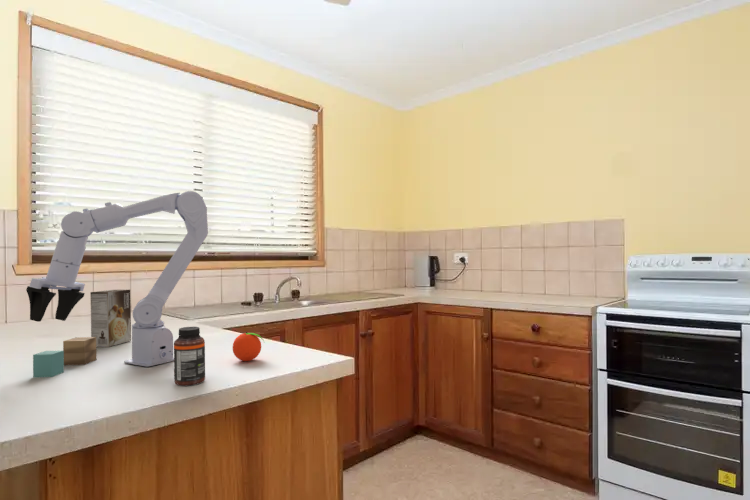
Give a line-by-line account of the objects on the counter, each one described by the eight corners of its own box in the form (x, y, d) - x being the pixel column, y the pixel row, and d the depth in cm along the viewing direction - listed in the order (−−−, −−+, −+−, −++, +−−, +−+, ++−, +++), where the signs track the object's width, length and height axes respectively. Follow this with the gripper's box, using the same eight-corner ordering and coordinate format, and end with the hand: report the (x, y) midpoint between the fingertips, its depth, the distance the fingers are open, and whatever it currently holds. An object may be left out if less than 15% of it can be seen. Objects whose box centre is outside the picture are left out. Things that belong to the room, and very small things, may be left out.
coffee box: (114, 340, 142) (113, 289, 142) (131, 341, 141) (131, 289, 141) (90, 346, 133) (89, 291, 133) (108, 347, 132) (108, 291, 132)
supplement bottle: (179, 379, 96) (179, 325, 96) (208, 378, 97) (208, 325, 97) (169, 387, 90) (169, 330, 91) (200, 386, 91) (200, 329, 91)
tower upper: (84, 353, 111) (84, 340, 111) (63, 353, 110) (63, 341, 110) (96, 348, 116) (96, 337, 116) (76, 349, 115) (76, 337, 115)
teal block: (51, 377, 99) (51, 354, 99) (33, 377, 99) (33, 354, 99) (63, 372, 103) (63, 350, 103) (45, 372, 103) (45, 350, 103)
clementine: (269, 357, 116) (269, 329, 116) (259, 364, 109) (259, 334, 109) (239, 357, 116) (238, 329, 117) (227, 364, 110) (227, 334, 110)
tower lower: (84, 365, 110) (84, 353, 110) (63, 365, 110) (63, 353, 110) (96, 360, 115) (96, 348, 115) (76, 361, 115) (76, 349, 115)
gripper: (72, 262, 113) (55, 315, 112) (25, 255, 99) (5, 316, 97) (98, 268, 113) (81, 322, 111) (55, 262, 98) (35, 324, 97)
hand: (48, 320), depth 104 cm, fingers open, 7 cm apart
